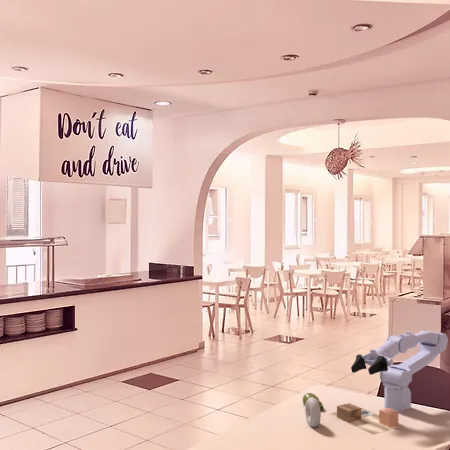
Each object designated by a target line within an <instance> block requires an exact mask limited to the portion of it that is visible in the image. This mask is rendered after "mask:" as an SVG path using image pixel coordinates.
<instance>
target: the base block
mask: <svg viewBox="0 0 450 450" xmlns="http://www.w3.org/2000/svg"><path fill="white" fill-rule="evenodd" d="M361 408H362V407H360V406H357V405H356V404H352V403H351V402H349V403H346V404H345V403H344V404H339V405H337V406H336V412H337V417H338V418H340V419H342V420H344V421H343V422H345V421H347V422H353V421H357V420H360V419H361ZM338 418H337V419H338ZM340 419H339V420H340ZM342 420H341V421H342ZM347 422H346V423H347Z"/></svg>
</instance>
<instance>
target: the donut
mask: <svg viewBox="0 0 450 450" xmlns="http://www.w3.org/2000/svg"><path fill="white" fill-rule="evenodd" d="M304 407H305V408H304V411H305V413H304V414H305V419H306V423H307V425H308V427H311V428H318V426H319V425H320V424H321V410H320V406H319V403H318V401H317V400H316V399H315V398H313V397H311V398H309V399H308V400H307V401H306V405H304Z"/></svg>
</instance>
